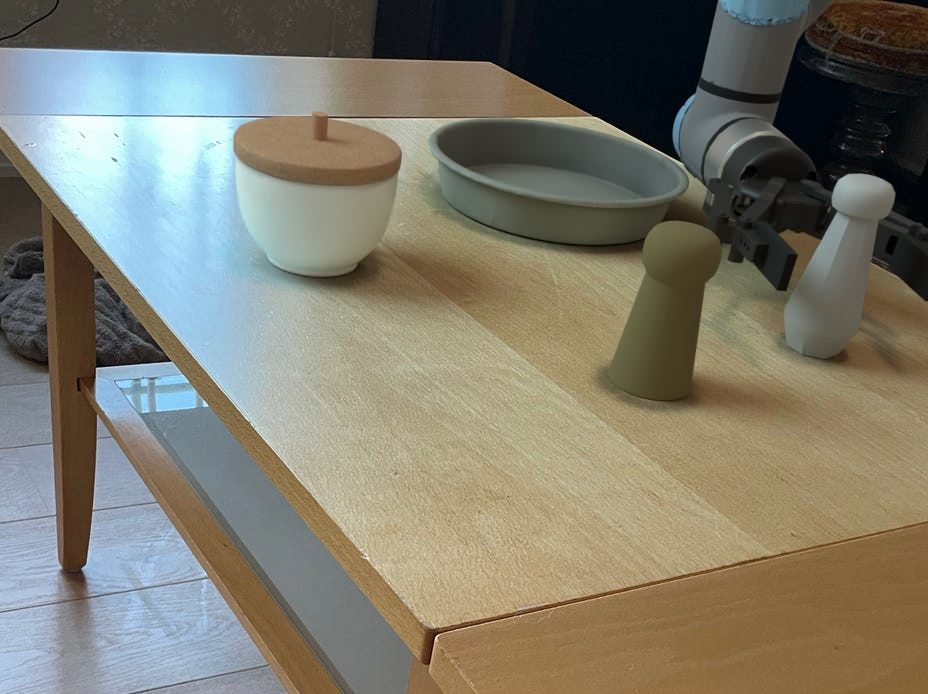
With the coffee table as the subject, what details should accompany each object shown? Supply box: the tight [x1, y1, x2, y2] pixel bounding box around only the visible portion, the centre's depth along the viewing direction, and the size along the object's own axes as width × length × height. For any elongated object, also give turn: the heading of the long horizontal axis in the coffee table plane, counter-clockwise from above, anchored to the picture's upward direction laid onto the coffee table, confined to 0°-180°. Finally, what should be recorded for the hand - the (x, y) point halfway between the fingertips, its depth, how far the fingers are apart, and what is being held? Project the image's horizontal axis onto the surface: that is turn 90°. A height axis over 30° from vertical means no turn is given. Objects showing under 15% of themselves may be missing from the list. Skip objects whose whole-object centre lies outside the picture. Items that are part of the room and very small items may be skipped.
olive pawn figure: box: [607, 220, 722, 401], centre depth 79 cm, size 6×6×11 cm
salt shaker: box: [783, 173, 896, 360], centre depth 87 cm, size 6×6×13 cm
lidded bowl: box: [232, 111, 403, 278], centre depth 89 cm, size 13×13×11 cm
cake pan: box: [427, 117, 690, 246], centre depth 109 cm, size 25×25×4 cm
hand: (863, 278), depth 84 cm, fingers open, 11 cm apart
